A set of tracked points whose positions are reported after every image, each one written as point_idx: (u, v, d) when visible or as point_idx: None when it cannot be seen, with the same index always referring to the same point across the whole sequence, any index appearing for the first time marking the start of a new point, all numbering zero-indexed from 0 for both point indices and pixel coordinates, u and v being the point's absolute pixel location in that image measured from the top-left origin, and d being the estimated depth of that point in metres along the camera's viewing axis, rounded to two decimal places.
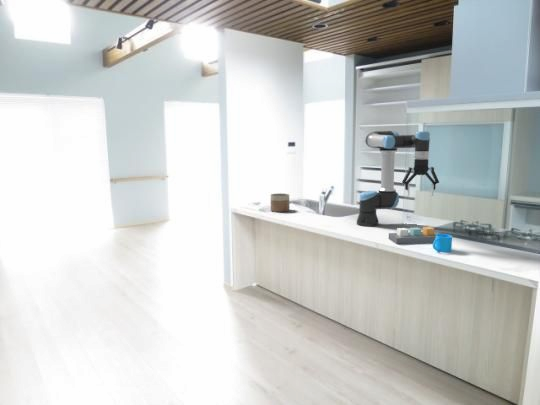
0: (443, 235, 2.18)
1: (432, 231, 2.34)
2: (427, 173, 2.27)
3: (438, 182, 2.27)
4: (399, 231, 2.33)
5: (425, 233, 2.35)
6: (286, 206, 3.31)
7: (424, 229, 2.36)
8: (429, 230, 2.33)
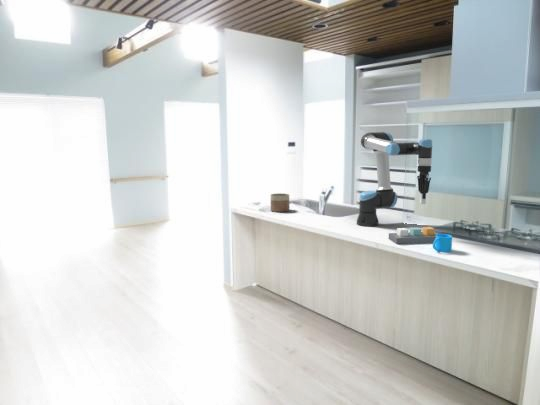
0: (443, 235, 2.18)
1: (432, 231, 2.34)
2: (422, 180, 2.38)
3: (423, 192, 2.38)
4: (399, 231, 2.33)
5: (425, 233, 2.35)
6: (286, 206, 3.31)
7: (424, 229, 2.36)
8: (429, 230, 2.33)
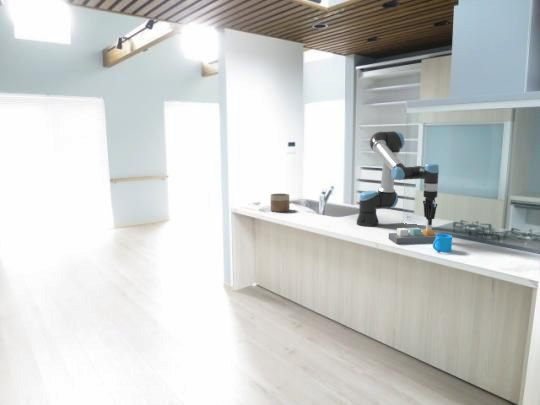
0: (443, 235, 2.18)
1: (432, 233, 2.34)
2: (428, 206, 2.32)
3: (429, 218, 2.31)
4: (399, 231, 2.33)
5: None
6: (286, 206, 3.31)
7: (424, 231, 2.36)
8: (429, 232, 2.34)
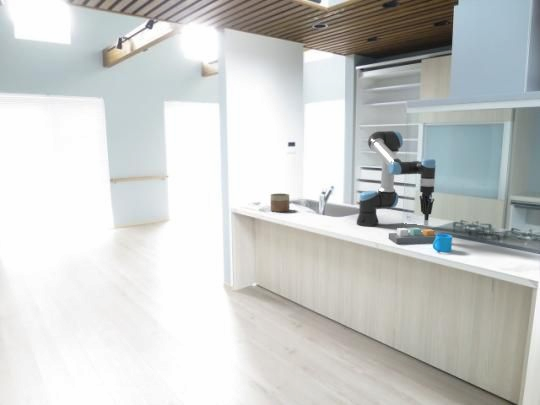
0: (443, 235, 2.18)
1: (432, 233, 2.34)
2: (425, 201, 2.31)
3: (426, 213, 2.31)
4: (399, 231, 2.33)
5: None
6: (286, 206, 3.31)
7: (424, 231, 2.36)
8: (429, 232, 2.34)
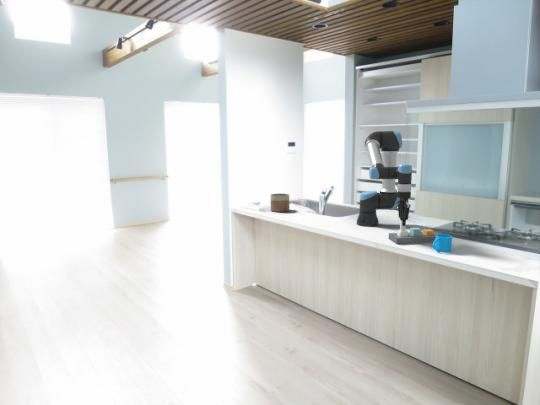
0: (443, 235, 2.18)
1: (432, 233, 2.34)
2: (402, 207, 2.30)
3: (403, 219, 2.30)
4: (399, 233, 2.33)
5: None
6: (286, 206, 3.31)
7: (424, 231, 2.36)
8: (429, 232, 2.34)
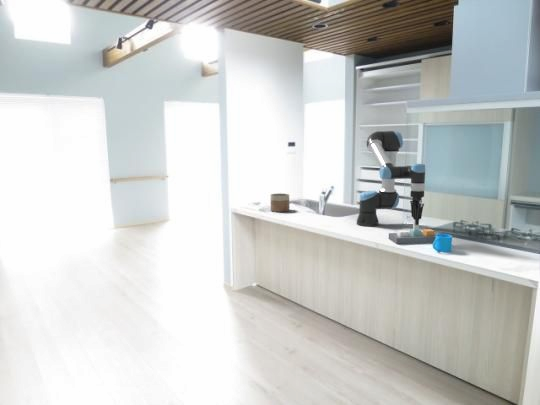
0: (443, 235, 2.18)
1: (432, 233, 2.34)
2: (415, 206, 2.31)
3: (416, 218, 2.30)
4: (399, 233, 2.33)
5: None
6: (286, 206, 3.31)
7: (424, 231, 2.36)
8: (429, 232, 2.34)
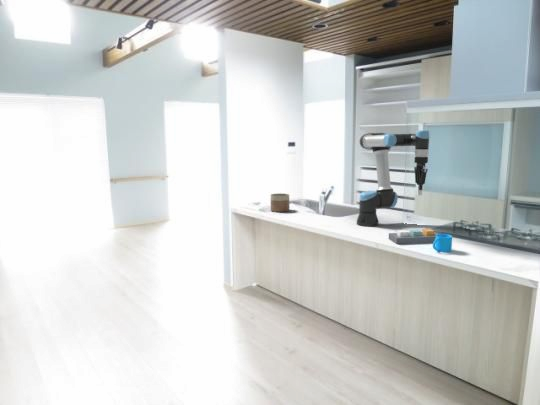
0: (443, 235, 2.18)
1: (432, 233, 2.34)
2: (419, 171, 2.39)
3: (420, 183, 2.38)
4: (399, 233, 2.33)
5: None
6: (286, 206, 3.31)
7: (424, 231, 2.36)
8: (429, 232, 2.34)
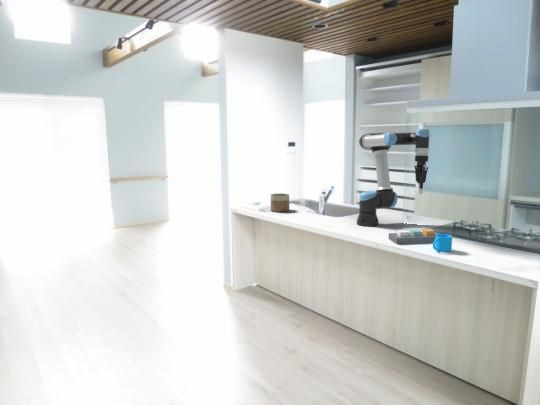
0: (443, 235, 2.18)
1: (432, 233, 2.34)
2: (419, 170, 2.39)
3: (420, 182, 2.39)
4: (399, 233, 2.33)
5: None
6: (286, 206, 3.31)
7: (424, 231, 2.36)
8: (429, 232, 2.34)
